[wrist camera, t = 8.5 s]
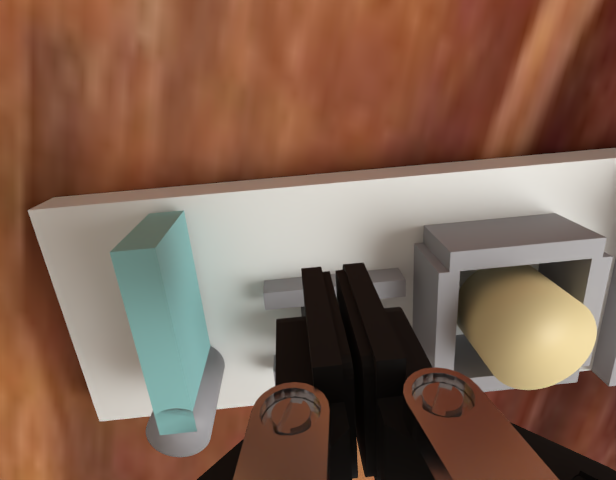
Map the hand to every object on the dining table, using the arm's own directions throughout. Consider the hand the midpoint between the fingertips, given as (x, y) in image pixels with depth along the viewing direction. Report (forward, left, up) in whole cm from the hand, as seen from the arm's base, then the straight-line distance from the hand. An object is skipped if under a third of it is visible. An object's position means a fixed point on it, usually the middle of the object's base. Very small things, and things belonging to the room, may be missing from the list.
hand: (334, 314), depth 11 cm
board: (-4, -5, -9) cm, 11 cm away
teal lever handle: (-3, +6, -7) cm, 9 cm away
